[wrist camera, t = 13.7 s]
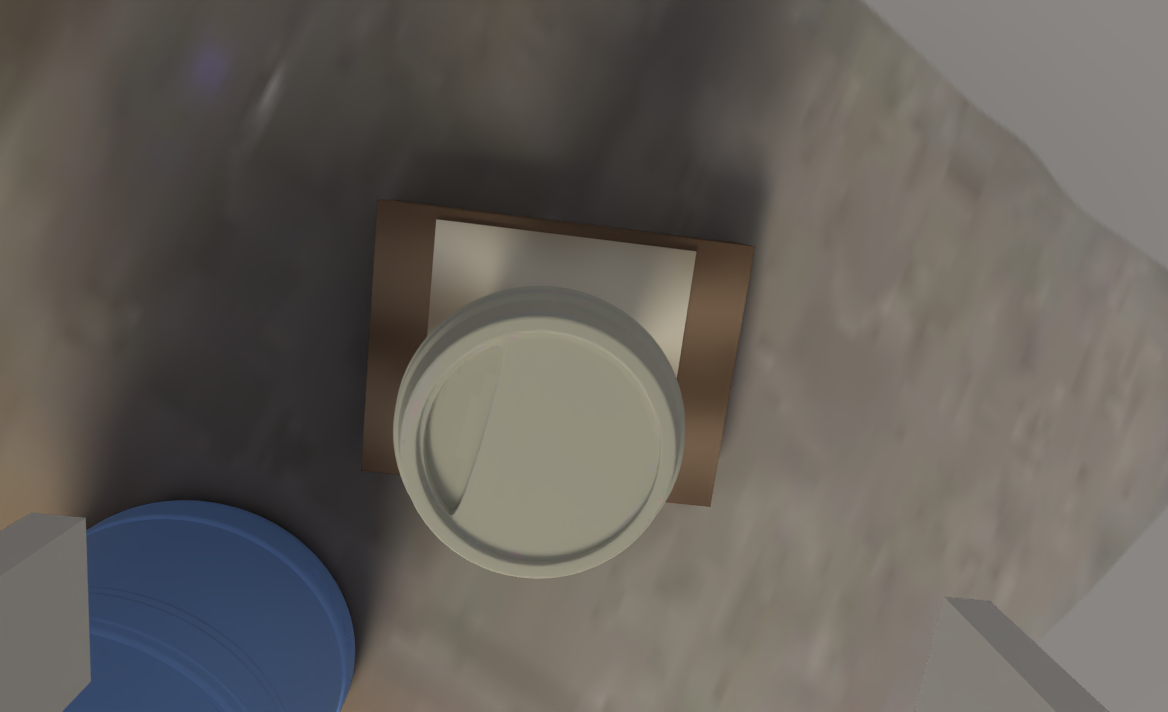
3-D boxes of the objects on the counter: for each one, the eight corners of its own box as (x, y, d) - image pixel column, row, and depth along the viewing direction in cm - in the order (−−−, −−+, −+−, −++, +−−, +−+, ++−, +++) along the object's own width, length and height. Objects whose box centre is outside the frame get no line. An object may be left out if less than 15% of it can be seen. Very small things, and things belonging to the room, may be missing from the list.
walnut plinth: (393, 200, 32) (376, 199, 29) (738, 243, 33) (756, 247, 30) (377, 449, 34) (359, 472, 31) (698, 483, 35) (711, 508, 32)
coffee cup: (556, 218, 29) (553, 223, 18) (684, 368, 31) (761, 465, 19) (406, 350, 30) (309, 439, 19) (538, 490, 32) (526, 654, 20)
